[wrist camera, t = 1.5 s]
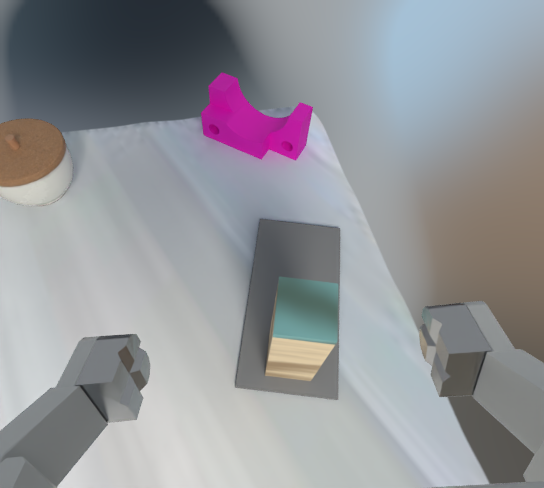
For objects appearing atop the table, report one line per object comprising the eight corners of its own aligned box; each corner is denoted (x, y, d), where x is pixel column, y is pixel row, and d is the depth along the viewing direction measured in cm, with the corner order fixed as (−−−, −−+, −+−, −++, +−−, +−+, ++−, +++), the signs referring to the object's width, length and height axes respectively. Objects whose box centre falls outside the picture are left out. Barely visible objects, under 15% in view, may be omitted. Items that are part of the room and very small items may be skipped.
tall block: (310, 381, 42) (337, 341, 30) (264, 375, 42) (273, 333, 30) (312, 336, 44) (338, 283, 32) (269, 331, 44) (279, 276, 32)
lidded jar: (96, 198, 53) (71, 148, 45) (15, 233, 50) (-28, 185, 42) (68, 150, 58) (40, 97, 50) (-8, 179, 54) (-52, 126, 46)
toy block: (203, 135, 61) (199, 95, 55) (224, 113, 64) (221, 72, 58) (288, 171, 58) (294, 133, 52) (305, 146, 61) (312, 107, 55)
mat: (337, 399, 41) (338, 399, 41) (235, 387, 41) (235, 386, 41) (339, 230, 53) (340, 228, 52) (259, 220, 53) (260, 218, 52)
